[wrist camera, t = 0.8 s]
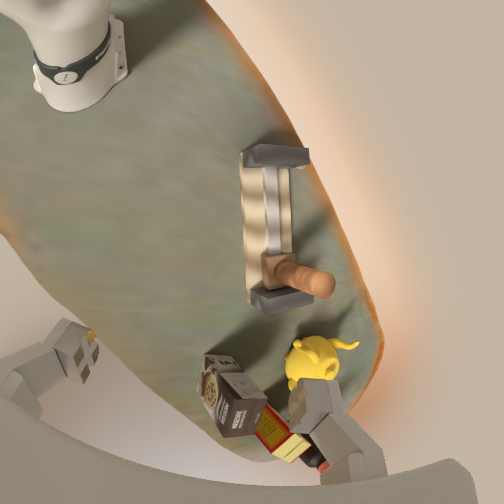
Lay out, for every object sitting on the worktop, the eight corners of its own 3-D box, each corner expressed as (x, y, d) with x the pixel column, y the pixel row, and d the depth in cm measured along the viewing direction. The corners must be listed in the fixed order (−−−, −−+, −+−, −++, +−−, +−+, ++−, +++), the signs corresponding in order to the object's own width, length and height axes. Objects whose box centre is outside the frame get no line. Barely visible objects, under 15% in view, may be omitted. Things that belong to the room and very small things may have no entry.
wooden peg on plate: (258, 254, 52) (310, 269, 38) (284, 251, 55) (340, 263, 41) (259, 285, 53) (310, 309, 39) (285, 280, 56) (339, 300, 42)
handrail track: (238, 151, 50) (260, 140, 42) (285, 153, 54) (310, 146, 47) (247, 304, 54) (268, 317, 47) (291, 294, 59) (315, 304, 52)
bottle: (301, 420, 68) (345, 458, 50) (290, 437, 67) (331, 476, 49) (285, 419, 64) (330, 461, 47) (273, 436, 64) (315, 480, 46)
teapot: (315, 305, 63) (349, 320, 53) (336, 341, 68) (367, 357, 58) (253, 365, 57) (281, 391, 47) (283, 395, 63) (310, 419, 52)
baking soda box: (238, 412, 57) (271, 454, 43) (258, 395, 59) (295, 433, 45) (258, 426, 61) (291, 464, 46) (276, 410, 62) (312, 445, 48)
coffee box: (202, 353, 51) (235, 398, 37) (231, 355, 54) (270, 396, 40) (194, 389, 51) (222, 439, 37) (221, 390, 54) (255, 435, 40)
